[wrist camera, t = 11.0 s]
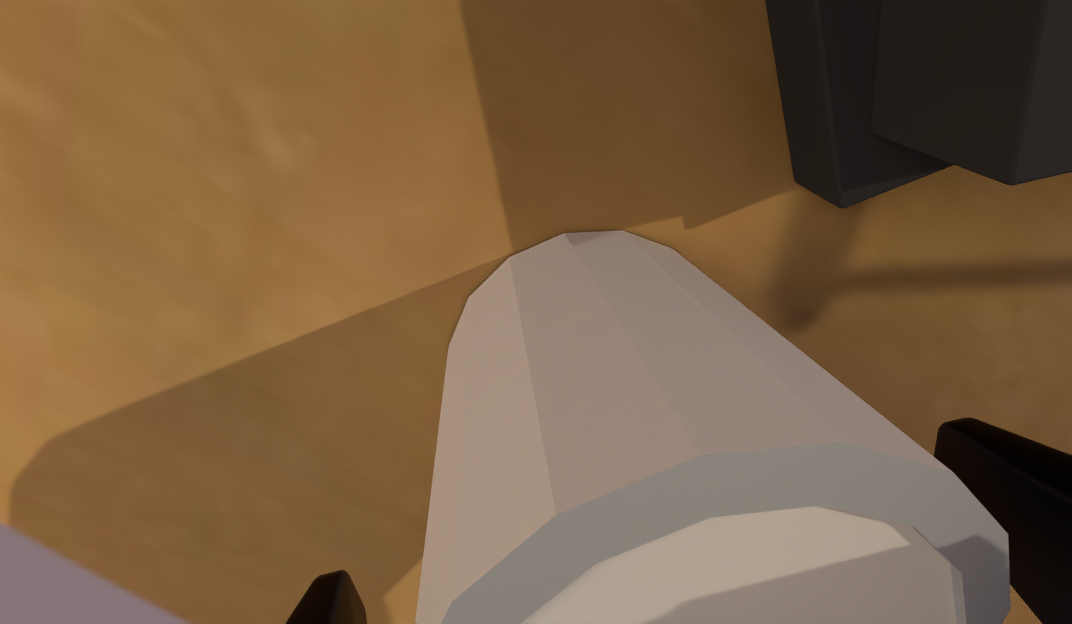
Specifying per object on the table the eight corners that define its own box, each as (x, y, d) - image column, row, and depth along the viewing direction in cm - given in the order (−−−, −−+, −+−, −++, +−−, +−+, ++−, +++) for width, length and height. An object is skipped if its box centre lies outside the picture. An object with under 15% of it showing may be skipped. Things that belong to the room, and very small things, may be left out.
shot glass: (352, 416, 13) (286, 813, 7) (543, 121, 11) (694, 322, 5) (616, 524, 16) (739, 885, 9) (814, 303, 13) (1139, 587, 7)
